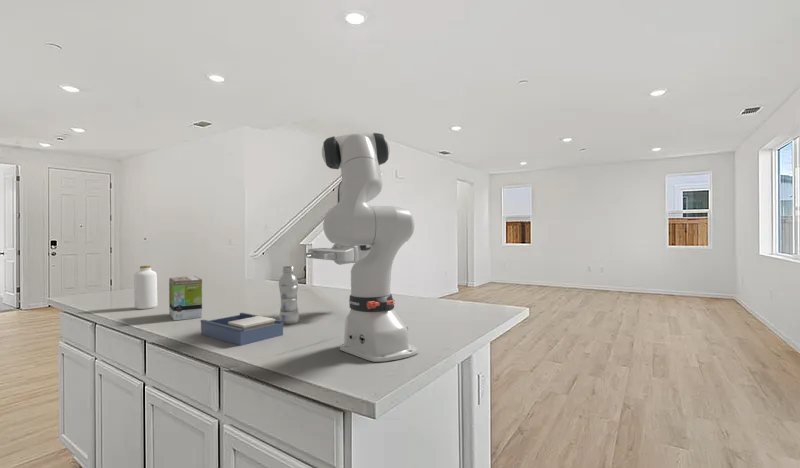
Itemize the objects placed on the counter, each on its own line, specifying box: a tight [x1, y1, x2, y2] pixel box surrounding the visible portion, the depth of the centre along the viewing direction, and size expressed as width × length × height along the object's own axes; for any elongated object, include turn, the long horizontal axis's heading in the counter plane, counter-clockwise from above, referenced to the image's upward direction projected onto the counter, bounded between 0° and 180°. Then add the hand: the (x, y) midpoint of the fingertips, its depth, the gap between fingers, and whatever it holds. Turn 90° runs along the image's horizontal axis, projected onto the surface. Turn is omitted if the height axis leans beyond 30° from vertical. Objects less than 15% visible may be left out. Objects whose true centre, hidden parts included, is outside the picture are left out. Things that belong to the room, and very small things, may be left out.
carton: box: [228, 315, 276, 331], centre depth 124 cm, size 8×10×5 cm
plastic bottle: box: [278, 266, 300, 325], centre depth 143 cm, size 6×7×20 cm
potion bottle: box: [133, 265, 158, 310], centre depth 178 cm, size 8×8×18 cm
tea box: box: [168, 275, 203, 321], centre depth 160 cm, size 15×10×15 cm, turn 34°
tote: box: [200, 312, 284, 347], centre depth 127 cm, size 22×14×5 cm, turn 52°
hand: (314, 256), depth 151 cm, fingers open, 8 cm apart
